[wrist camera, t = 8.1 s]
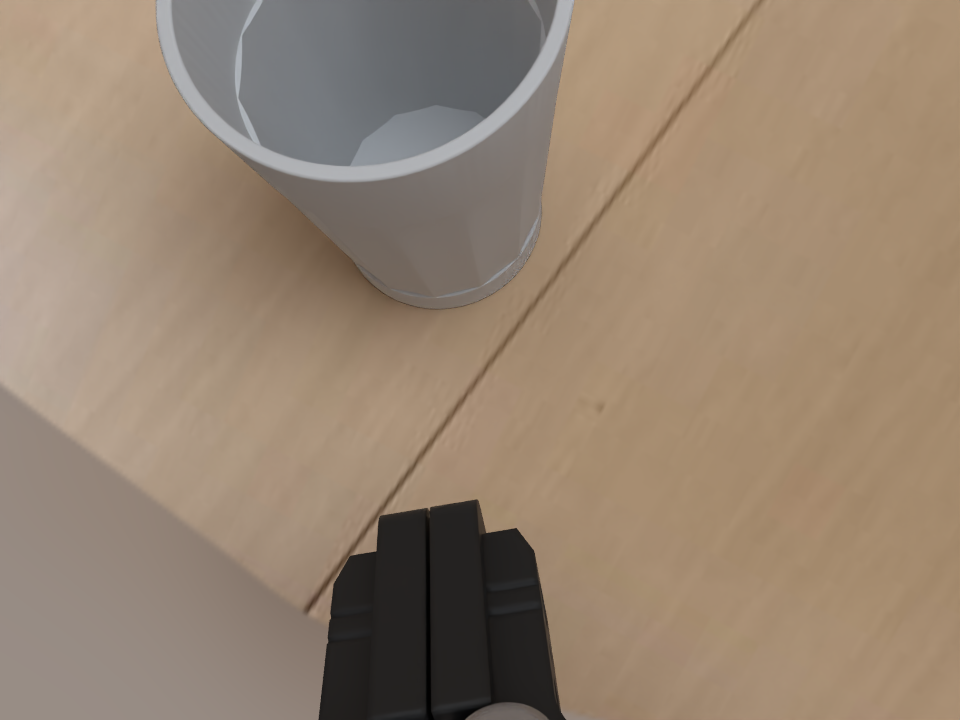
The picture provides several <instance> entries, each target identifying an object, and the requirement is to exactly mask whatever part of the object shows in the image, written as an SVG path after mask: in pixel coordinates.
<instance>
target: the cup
mask: <svg viewBox="0 0 960 720" xmlns="http://www.w3.org/2000/svg"><path fill="white" fill-rule="evenodd" d="M573 6H574V0H156V22H157V31H158V37H159V42H160V46H161V50H162V54H163V57H164V60H165V63H166V66H167V69H168V71H169V74H170V76H171V78H172V80H173V82H174V84H175V86H176V88H177V90H178V91H179V93H180V95H181V96H182V98H183V100H184V101H185V102H186V104H187V105H188V107H189V108H190V109H191V111H192V112H193V113H194V114H195V116H196V117H197V118H198V119H199V120H200V121H201V122H202V123H203V124H204V126H205V127H206V128H207V129H209V130H210V131H211V132H212V133H213V134H214V135H215V136H216V137H217V138H218V139H220V140H221V141H222V142H223V143H224V144H225V145H226V146H227V147H229V148H230V149H231V150H232V151H233V152H234V153H235V154H237V155H238V156H239V157H240V158H241V159H242V160H243V161H244V162H246V163H247V164H248V165H249V166H250V167H251V168H252V169H253V170H255V171H256V172H257V173H258V174H259V175H260V176H261V177H262V178H264V179H265V180H266V181H267V182H268V183H269V184H270V185H271V186H273V187H274V188H275V189H276V190H277V191H278V192H280V193H281V194H282V195H283V196H285V197H286V198H287V199H288V200H289V201H290V202H291V203H293V204H294V205H295V206H296V207H297V208H298V209H299V210H300V211H301V212H302V213H303V214H304V215H305V216H306V217H307V218H308V219H309V220H310V221H312V222H313V223H314V224H315V225H316V226H317V227H318V228H319V229H320V230H321V231H322V232H323V233H324V234H325V235H326V236H327V237H328V238H329V239H331V240H332V241H333V242H334V243H335V244H336V245H337V246H338V247H339V248H340V249H341V250H342V251H343V252H344V253H345V254H346V255H347V256H349V257H350V258H351V259H352V260H353V261H354V263H355V264H356V266H357V267H358V268H359V270H360V271H361V273H362V274H363V275H364V276H365V277H366V278H367V279H368V281H369V282H371V283H372V284H373V285H374V286H375V287H376V288H378V289H379V290H380V291H382V292H383V293H385V294H386V295H388V296H390V297H391V298H393V299H396V300H398V301H400V302H403V303H406V304H409V305H412V306H416V307H422V308H430V309H447V308H455V307H460V306H464V305H468V304H471V303H474V302H477V301H479V300H482V299H484V298H486V297H488V296H490V295H491V294H493V293H495V292H496V291H498V290H499V289H501V288H502V287H503V286H504V285H506V284H507V283H508V282H509V281H510V280H511V279H512V278H513V277H514V276H515V275H516V274H517V273H518V272H519V271H520V269H521V268H522V267H523V265H524V264H525V263H526V261H527V259H528V258H529V256H530V254H531V252H532V250H533V248H534V246H535V243H536V240H537V237H538V234H539V230H540V224H541V214H542V206H541V196H542V190H543V183H544V177H545V170H546V164H547V157H548V151H549V144H550V138H551V131H552V124H553V118H554V111H555V105H556V98H557V93H558V87H559V82H560V77H561V71H562V66H563V60H564V55H565V49H566V44H567V38H568V33H569V27H570V22H571V17H572V11H573Z"/></svg>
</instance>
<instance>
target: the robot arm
mask: <svg viewBox="0 0 960 720" xmlns="http://www.w3.org/2000/svg"><path fill="white" fill-rule="evenodd" d="M330 614H331V619H330V622H329V631H328V644H327V649H326V658H325V667H324V676H323V685H322V694H321V703H320V712H319V720H566V719H565V718H564V716H563V715H562V713H561V709H560V702H559V695H558V689H557V682H556V676H555V668H554V662H553V655H552V648H551V641H550V634H549V628H548V621H547V615H546V610H545V605H544V600H543V595H542V589H541V584H540V579H539V574H538V569H537V563H536V558H535V553H534V550H533V549H532V548H531V546H530V545H529V544H528V542H527V541H526V540H525V539H524V537H523V536H522V535H521V533H520V532H519V531H518V529H517V528H515V529H509V530H503V531H497V532H491V533H486V530H485V526H484V521H483V517H482V513H481V508H480V505H479V501H478V500H471V501H465V502H459V503H453V504H447V505H441V506H435V507H431V508H430V511H429V509H428V508H424V509H418V510H412V511H406V512H400V513H394V514H388V515H382V516H380V518H379V522H378V536H377V551H376V552H370V553H364V554H358V555H352V556H350V557H349V559H348V560H347V562H346V564H345V565H344V567H343V569H342V571H341V572H340V574H339V576H338V577H337V579H336V581H335V583H334V586H333V595H332V604H331V613H330Z"/></svg>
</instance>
